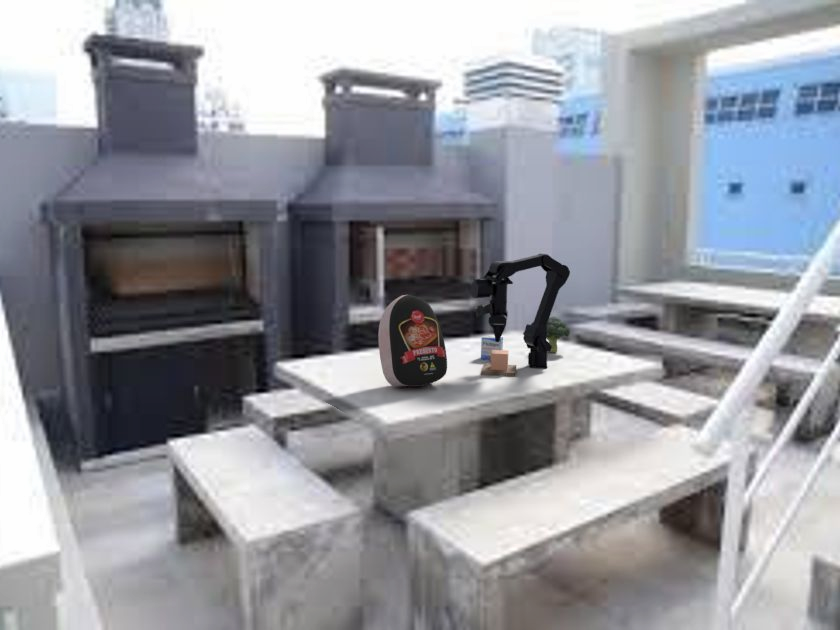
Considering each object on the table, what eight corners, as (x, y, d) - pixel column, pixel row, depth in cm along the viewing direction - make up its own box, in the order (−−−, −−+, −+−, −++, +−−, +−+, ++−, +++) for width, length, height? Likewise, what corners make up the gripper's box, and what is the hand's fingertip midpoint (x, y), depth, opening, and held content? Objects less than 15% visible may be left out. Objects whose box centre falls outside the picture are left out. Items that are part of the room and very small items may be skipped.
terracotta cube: (507, 366, 251) (508, 350, 250) (507, 370, 245) (507, 354, 244) (491, 365, 252) (491, 349, 251) (490, 369, 246) (490, 353, 245)
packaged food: (401, 396, 215) (401, 302, 210) (368, 383, 231) (367, 295, 226) (455, 386, 228) (456, 297, 223) (420, 374, 244) (421, 290, 239)
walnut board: (516, 368, 253) (516, 365, 253) (515, 376, 242) (515, 373, 241) (483, 366, 255) (483, 363, 255) (481, 374, 244) (481, 371, 243)
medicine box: (480, 359, 268) (481, 337, 266) (482, 356, 272) (483, 335, 270) (500, 360, 265) (501, 338, 264) (502, 358, 269) (503, 336, 268)
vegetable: (535, 348, 286) (536, 313, 284) (566, 349, 286) (567, 314, 283) (539, 355, 274) (540, 318, 272) (571, 356, 274) (572, 319, 271)
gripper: (478, 292, 255) (477, 333, 258) (474, 299, 237) (473, 343, 240) (508, 293, 254) (506, 334, 256) (507, 300, 236) (505, 345, 238)
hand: (497, 339), depth 248 cm, fingers open, 9 cm apart
